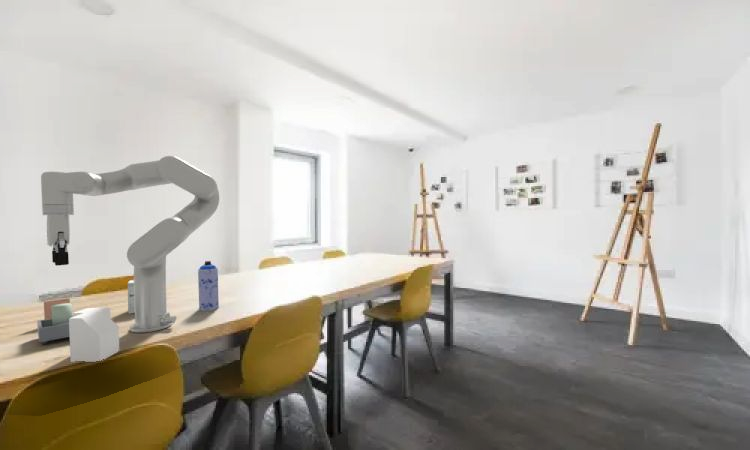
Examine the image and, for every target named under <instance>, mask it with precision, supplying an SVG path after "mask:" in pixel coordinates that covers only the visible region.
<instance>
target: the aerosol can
mask: <svg viewBox="0 0 750 450" xmlns="http://www.w3.org/2000/svg"><path fill="white" fill-rule="evenodd" d="M218 271H219V269H218V267H217V266H216V265H215V264H213V263H212V261H211V260H205V261H204V264H202V265H201V266H200V267H199V268H198V269H197V278H198V281H197V282H198V283H197V284H198V311H200V312H209V311H215V310H218V309H219V308H220V305H219V304H220V303H219V272H218Z"/></svg>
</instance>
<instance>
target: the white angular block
mask: <svg viewBox="0 0 750 450" xmlns="http://www.w3.org/2000/svg"><path fill="white" fill-rule="evenodd" d="M72 313H73V317H72V318H69V333H70V337H69V352H70V353H69V354H70V355H69V356H70V363H76V362H75V361H85V362H84V363H89V362H90V363H92V362H93V363H94V362H95V363H97V362H96V361H101V360H102V361H104V360H106V359H107V358H110V357H111V356H113V355H115V354H117V353H118V351H119V352H120V331H119V329H120V328H119V327H120V326H119V325H118V324H116V323H115V322H114V320H112V318H111V307H87V308H83V309H80V310H78V311H74V312H72ZM103 359H104V360H103ZM102 361H101V362H102Z"/></svg>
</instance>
